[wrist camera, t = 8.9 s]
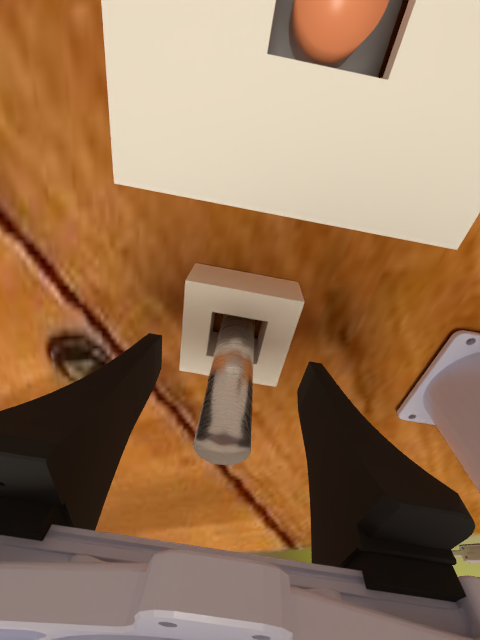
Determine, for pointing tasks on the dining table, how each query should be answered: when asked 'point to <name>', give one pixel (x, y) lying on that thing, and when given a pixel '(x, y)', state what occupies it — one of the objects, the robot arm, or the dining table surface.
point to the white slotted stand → (299, 117)
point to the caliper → (468, 553)
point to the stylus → (228, 396)
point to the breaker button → (334, 32)
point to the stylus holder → (244, 301)
